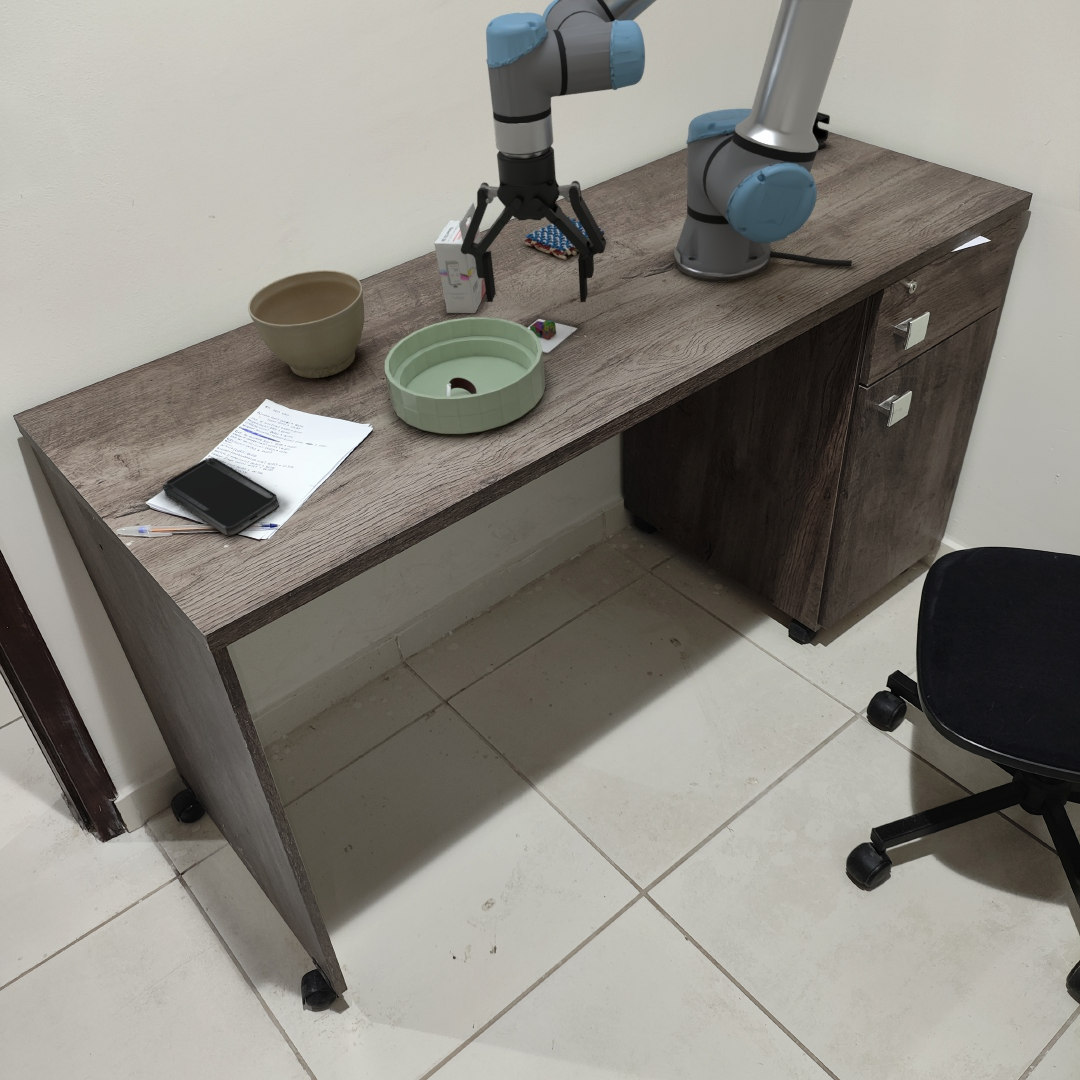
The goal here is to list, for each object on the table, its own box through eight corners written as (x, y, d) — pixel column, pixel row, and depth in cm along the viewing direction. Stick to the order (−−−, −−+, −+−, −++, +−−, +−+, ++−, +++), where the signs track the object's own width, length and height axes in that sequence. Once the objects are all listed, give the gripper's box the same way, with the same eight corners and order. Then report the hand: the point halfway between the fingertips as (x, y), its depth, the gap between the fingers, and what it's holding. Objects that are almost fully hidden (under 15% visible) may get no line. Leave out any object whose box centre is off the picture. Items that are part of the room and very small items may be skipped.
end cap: (802, 137, 197) (805, 102, 192) (828, 145, 192) (832, 110, 188) (765, 150, 193) (767, 115, 189) (791, 159, 188) (794, 123, 184)
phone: (211, 455, 126) (280, 497, 118) (213, 462, 127) (282, 504, 118) (158, 486, 122) (226, 531, 114) (161, 493, 123) (229, 538, 114)
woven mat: (522, 246, 169) (521, 234, 168) (566, 225, 174) (565, 214, 173) (562, 262, 163) (561, 250, 162) (607, 240, 168) (607, 229, 167)
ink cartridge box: (459, 288, 159) (445, 200, 149) (488, 289, 158) (476, 200, 148) (445, 314, 153) (429, 223, 143) (475, 314, 152) (462, 223, 142)
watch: (445, 392, 134) (440, 370, 131) (478, 389, 134) (475, 366, 131) (444, 424, 128) (440, 400, 126) (480, 420, 128) (476, 396, 126)
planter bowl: (249, 365, 146) (228, 299, 139) (341, 325, 153) (325, 260, 146) (302, 405, 136) (282, 336, 129) (397, 360, 143) (383, 292, 136)
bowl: (555, 354, 140) (552, 316, 136) (532, 438, 125) (528, 399, 121) (414, 354, 144) (407, 317, 140) (374, 436, 128) (365, 397, 124)
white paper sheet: (577, 328, 145) (576, 312, 144) (548, 353, 141) (546, 337, 139) (538, 318, 149) (537, 303, 147) (508, 342, 144) (506, 327, 142)
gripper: (623, 136, 128) (625, 285, 141) (439, 140, 132) (459, 285, 145) (617, 156, 122) (621, 310, 136) (425, 160, 126) (448, 309, 140)
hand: (537, 298), depth 141 cm, fingers open, 13 cm apart
